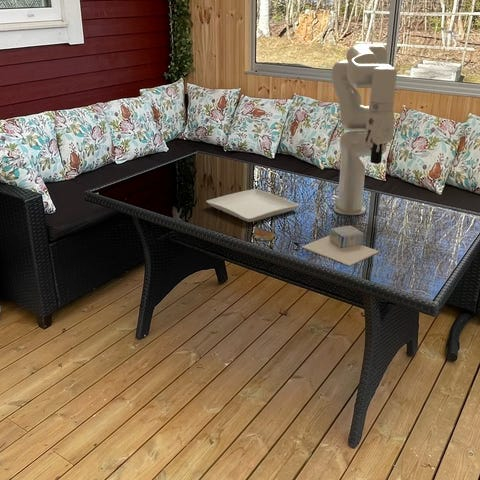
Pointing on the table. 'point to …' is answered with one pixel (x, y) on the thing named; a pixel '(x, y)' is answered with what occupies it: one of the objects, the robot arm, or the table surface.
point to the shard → (263, 234)
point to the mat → (340, 251)
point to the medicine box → (346, 236)
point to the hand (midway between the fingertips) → (375, 162)
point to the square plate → (252, 204)
